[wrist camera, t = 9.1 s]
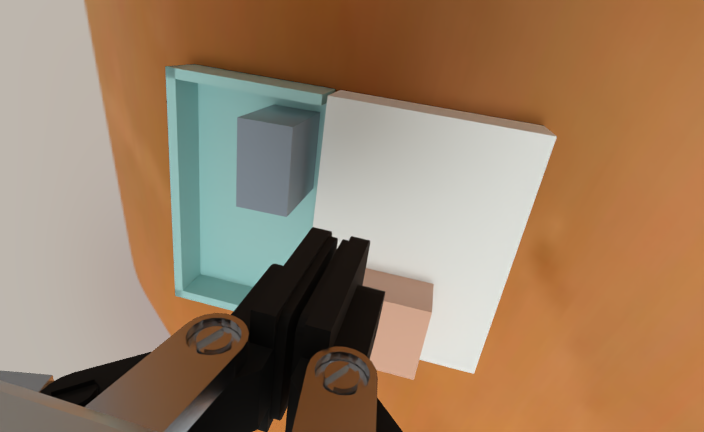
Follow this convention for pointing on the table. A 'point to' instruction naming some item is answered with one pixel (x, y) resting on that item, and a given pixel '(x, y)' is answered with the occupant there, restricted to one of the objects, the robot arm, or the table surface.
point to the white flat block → (433, 204)
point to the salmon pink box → (400, 322)
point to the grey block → (276, 158)
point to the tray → (226, 182)
